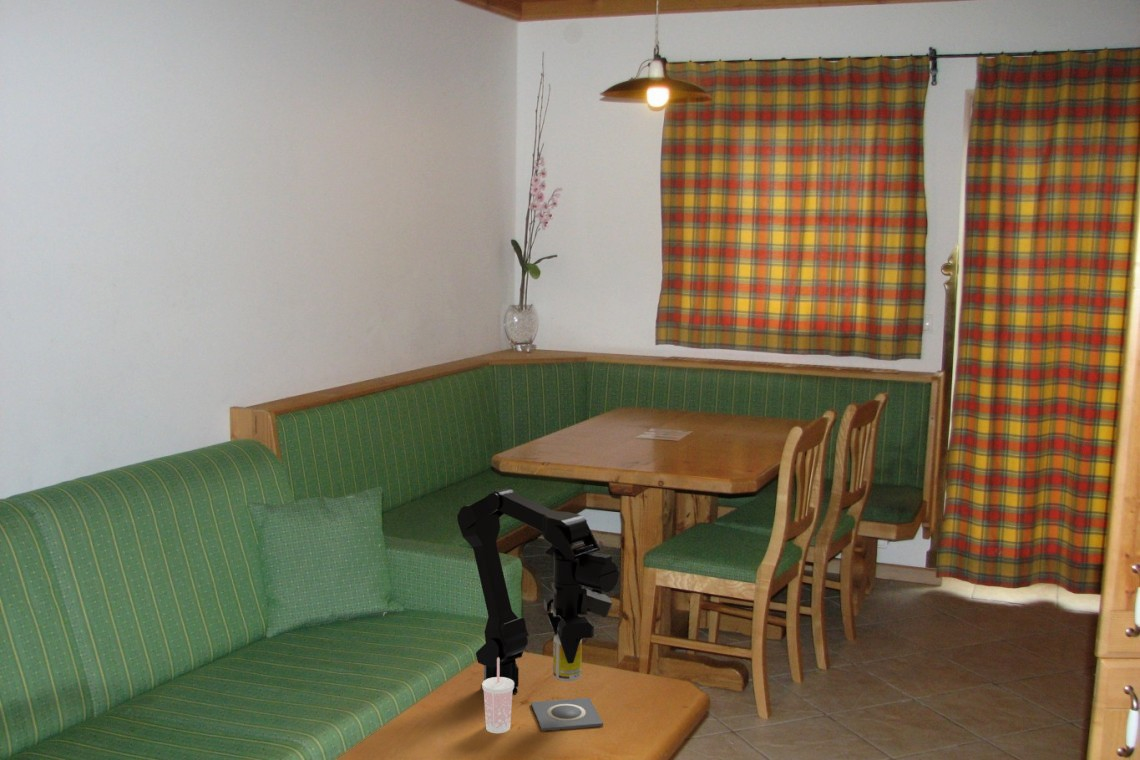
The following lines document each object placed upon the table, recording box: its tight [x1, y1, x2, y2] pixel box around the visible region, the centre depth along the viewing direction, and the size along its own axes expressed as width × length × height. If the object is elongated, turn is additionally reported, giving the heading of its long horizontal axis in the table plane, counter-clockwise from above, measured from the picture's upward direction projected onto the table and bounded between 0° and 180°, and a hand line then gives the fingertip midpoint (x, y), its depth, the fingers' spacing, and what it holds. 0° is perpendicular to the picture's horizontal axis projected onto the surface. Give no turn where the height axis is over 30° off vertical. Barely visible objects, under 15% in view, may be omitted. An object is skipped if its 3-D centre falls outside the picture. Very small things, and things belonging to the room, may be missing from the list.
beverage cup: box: [481, 658, 514, 734], centre depth 210 cm, size 6×6×14 cm
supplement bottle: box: [552, 634, 583, 682], centre depth 215 cm, size 6×6×10 cm
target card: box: [530, 697, 604, 732], centre depth 217 cm, size 12×12×1 cm
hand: (567, 657), depth 215 cm, fingers closed on supplement bottle, 5 cm apart
